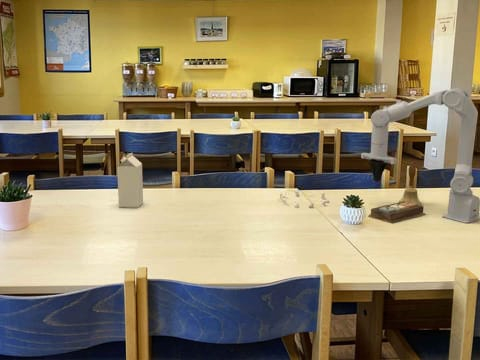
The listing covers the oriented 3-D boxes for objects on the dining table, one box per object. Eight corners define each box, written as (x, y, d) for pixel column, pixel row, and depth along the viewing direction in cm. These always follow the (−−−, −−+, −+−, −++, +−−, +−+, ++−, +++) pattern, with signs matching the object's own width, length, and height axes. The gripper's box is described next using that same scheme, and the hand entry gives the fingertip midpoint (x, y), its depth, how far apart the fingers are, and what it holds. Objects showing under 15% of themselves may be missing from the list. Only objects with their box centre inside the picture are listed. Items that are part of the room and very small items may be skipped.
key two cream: (405, 213, 189) (406, 206, 189) (398, 215, 187) (398, 208, 186) (396, 211, 192) (396, 203, 192) (388, 212, 190) (389, 205, 189)
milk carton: (143, 203, 204) (141, 152, 199) (137, 208, 197) (136, 156, 193) (124, 202, 204) (122, 152, 200) (118, 207, 197) (116, 155, 193)
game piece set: (278, 195, 219) (278, 186, 218) (329, 197, 217) (329, 187, 216) (276, 208, 200) (276, 198, 199) (332, 210, 198) (332, 199, 197)
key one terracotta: (415, 211, 192) (416, 204, 192) (408, 213, 190) (408, 205, 190) (406, 208, 196) (406, 201, 195) (398, 210, 193) (399, 203, 193)
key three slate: (395, 216, 186) (396, 208, 185) (387, 218, 184) (388, 210, 183) (386, 213, 189) (386, 206, 189) (378, 215, 187) (378, 208, 186)
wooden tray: (425, 214, 191) (425, 206, 191) (392, 223, 181) (392, 214, 180) (401, 208, 199) (402, 200, 198) (368, 216, 188) (369, 208, 188)
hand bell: (416, 207, 201) (420, 164, 198) (395, 204, 206) (398, 162, 202) (424, 203, 207) (428, 161, 204) (403, 199, 212) (406, 159, 209)
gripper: (403, 145, 193) (400, 182, 196) (370, 140, 204) (368, 175, 207) (390, 146, 189) (387, 185, 191) (358, 141, 200) (356, 178, 203)
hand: (377, 180), depth 199 cm, fingers closed
